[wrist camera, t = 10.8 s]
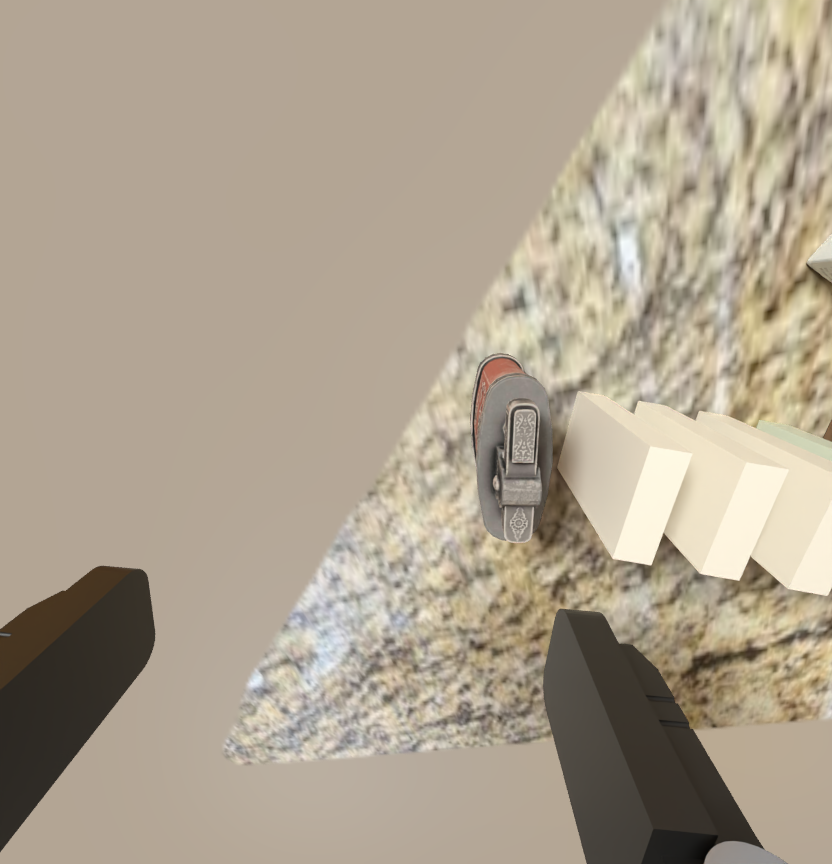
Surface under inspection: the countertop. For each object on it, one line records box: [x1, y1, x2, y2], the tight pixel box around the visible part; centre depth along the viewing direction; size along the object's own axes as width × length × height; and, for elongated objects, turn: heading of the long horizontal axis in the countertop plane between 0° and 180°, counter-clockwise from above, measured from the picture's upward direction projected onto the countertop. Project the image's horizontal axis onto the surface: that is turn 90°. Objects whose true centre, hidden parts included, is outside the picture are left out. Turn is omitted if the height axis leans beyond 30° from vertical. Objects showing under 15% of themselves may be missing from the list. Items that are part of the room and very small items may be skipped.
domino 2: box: [634, 401, 789, 581], centre depth 22 cm, size 2×5×10 cm, turn 171°
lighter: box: [470, 353, 552, 543], centre depth 22 cm, size 8×3×10 cm, turn 1°
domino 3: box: [757, 420, 832, 461], centre depth 22 cm, size 2×5×10 cm, turn 171°
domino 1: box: [557, 391, 693, 565], centre depth 22 cm, size 2×5×10 cm, turn 171°
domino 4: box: [696, 411, 832, 596], centre depth 22 cm, size 2×5×10 cm, turn 171°
